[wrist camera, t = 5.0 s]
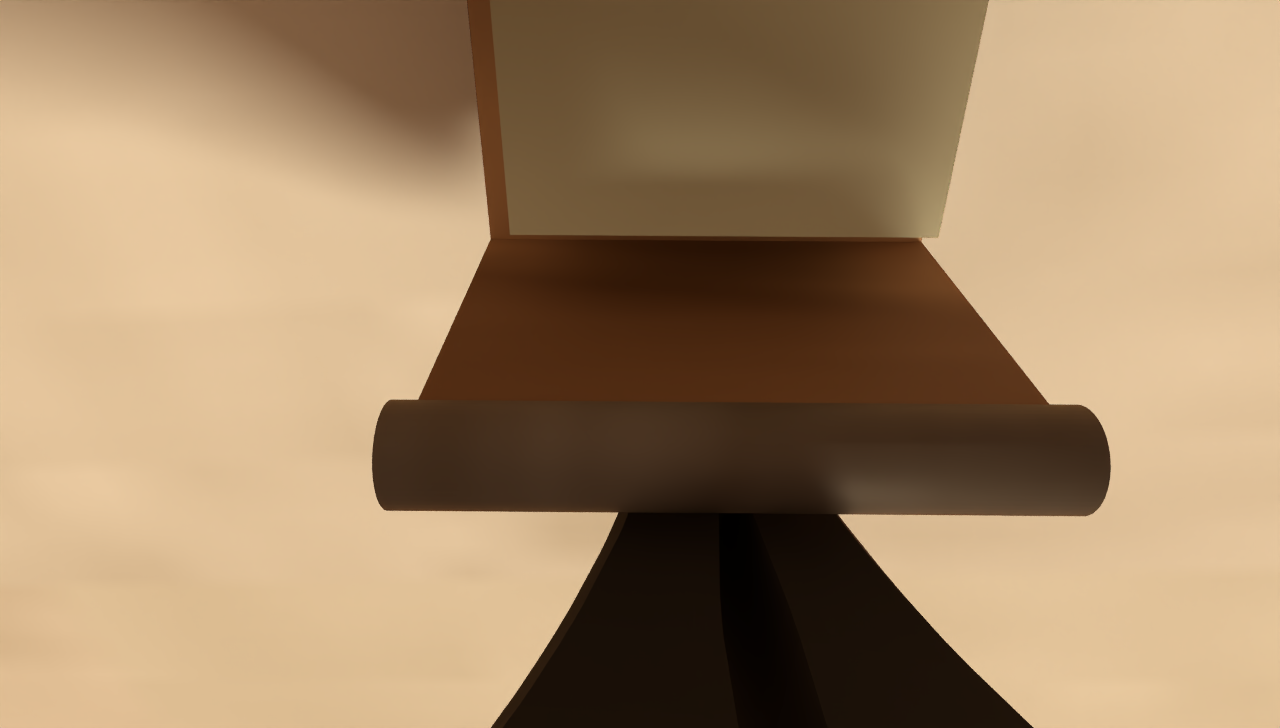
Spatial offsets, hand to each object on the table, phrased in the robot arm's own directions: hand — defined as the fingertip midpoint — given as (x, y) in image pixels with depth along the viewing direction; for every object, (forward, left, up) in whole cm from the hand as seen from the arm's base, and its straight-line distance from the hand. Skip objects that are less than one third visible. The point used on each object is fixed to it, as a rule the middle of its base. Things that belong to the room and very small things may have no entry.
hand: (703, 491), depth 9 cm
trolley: (+4, -3, -4) cm, 7 cm away
